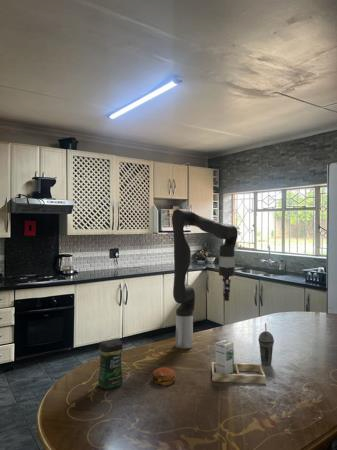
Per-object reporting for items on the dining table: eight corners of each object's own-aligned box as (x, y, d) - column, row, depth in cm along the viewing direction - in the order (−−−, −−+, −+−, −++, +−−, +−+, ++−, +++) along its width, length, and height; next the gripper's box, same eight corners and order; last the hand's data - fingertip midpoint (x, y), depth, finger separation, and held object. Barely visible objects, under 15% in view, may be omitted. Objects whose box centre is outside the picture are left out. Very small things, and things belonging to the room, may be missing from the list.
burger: (173, 375, 153) (173, 364, 153) (177, 384, 144) (177, 373, 144) (151, 377, 151) (151, 366, 151) (154, 386, 142) (154, 375, 142)
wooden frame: (212, 381, 146) (212, 374, 146) (211, 368, 159) (211, 362, 159) (265, 383, 144) (265, 376, 144) (260, 370, 157) (260, 364, 157)
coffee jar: (104, 392, 137) (104, 345, 137) (95, 384, 143) (95, 340, 143) (125, 385, 143) (125, 340, 143) (116, 378, 149) (116, 335, 149)
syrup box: (225, 379, 148) (225, 345, 149) (215, 374, 153) (215, 341, 153) (234, 375, 152) (234, 342, 152) (223, 371, 157) (223, 339, 157)
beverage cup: (275, 363, 166) (275, 321, 166) (273, 368, 159) (272, 325, 160) (259, 360, 169) (259, 319, 169) (257, 366, 163) (256, 323, 163)
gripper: (218, 263, 176) (218, 295, 176) (219, 267, 162) (218, 301, 162) (233, 264, 175) (232, 296, 176) (235, 267, 161) (235, 302, 161)
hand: (226, 298), depth 169 cm, fingers open, 8 cm apart
